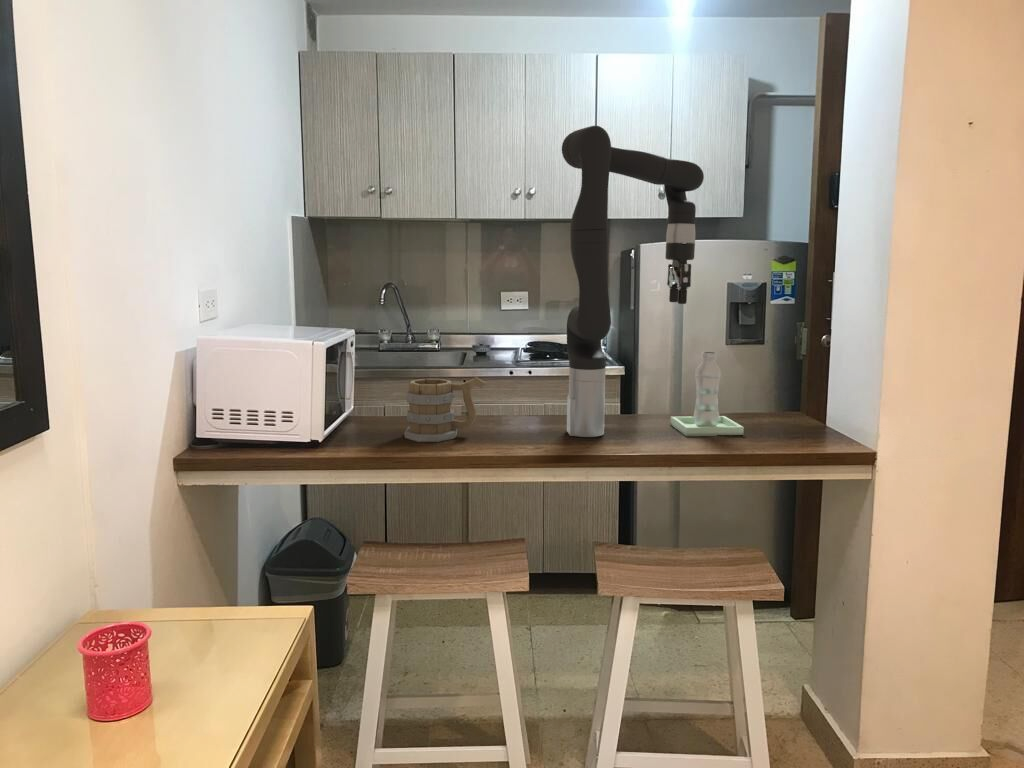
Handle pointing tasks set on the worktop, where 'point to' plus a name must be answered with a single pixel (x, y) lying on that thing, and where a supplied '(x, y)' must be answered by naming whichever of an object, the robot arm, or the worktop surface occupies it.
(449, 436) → the tankard
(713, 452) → the worktop surface
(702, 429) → the tray
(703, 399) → the plastic bottle
